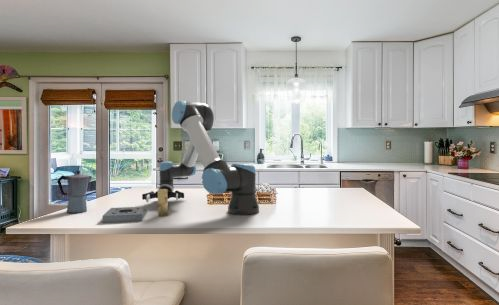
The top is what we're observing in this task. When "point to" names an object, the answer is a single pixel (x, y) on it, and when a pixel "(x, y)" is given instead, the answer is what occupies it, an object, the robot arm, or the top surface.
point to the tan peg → (162, 202)
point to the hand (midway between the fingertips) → (162, 199)
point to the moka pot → (76, 191)
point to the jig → (125, 214)
